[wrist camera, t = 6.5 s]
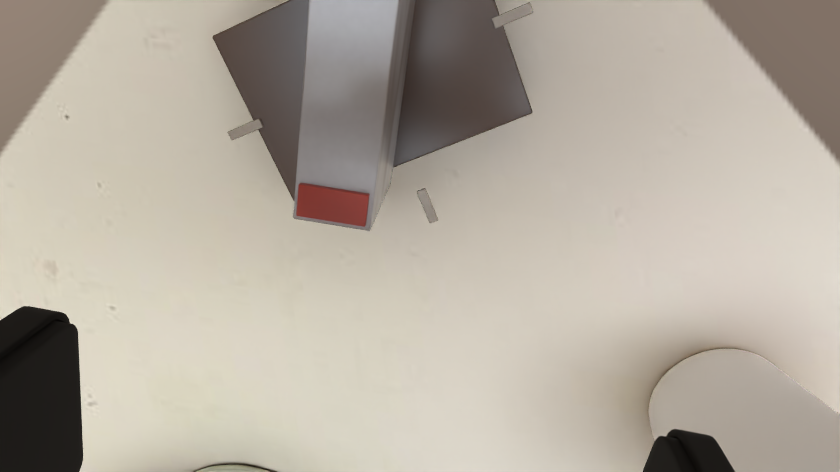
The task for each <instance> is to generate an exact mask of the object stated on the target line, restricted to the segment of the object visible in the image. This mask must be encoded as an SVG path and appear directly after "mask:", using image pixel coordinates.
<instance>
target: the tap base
mask: <svg viewBox="0 0 840 472" xmlns="http://www.w3.org/2000/svg"><path fill="white" fill-rule="evenodd" d="M308 9H309V0H289V1H286V2H284V3H282V4H280V5H278V6H276V7H274V8H272V9H269V10H267V11H265V12H263V13H261V14H259V15H257V16H254V17H252V18H250V19H248V20H246V21H244V22H242V23H239V24H237V25H235V26H233V27H231V28H229V29H227V30H225V31H222V32H220V33H218V34H216V35H214V36H213V39H214V41H215V43H216V45H217V47H218V49H219V51H220V53H221V55H222V57H223V59H224V61H225V63H226V65H227V67H228V69H229V72H230V74H231V76H232V78H233V80H234V82H235V84H236V86H237V88H238V90H239V92H240V94H241V96H242V98H243V100H244V102H245V104H246V106H247V108H248V110H249V112H250V114H251V116H252V118H253V120H254V121H252V122H249V123H247V124H245V125H242V126H240V127H238V128H235V129H233V130H231V131H228V134H229V136H230V138H231V140H234V139H237V138H239V137H241V136H244V135H246V134H248V133H251V132H253V131H255V130H259V132H260V134H261V136H262V138H263V140H264V142H265V144H266V146H267V148H268V150H269V152H270V154H271V156H272V158H273V160H274V162H275V164H276V166H277V168H278V170H279V172H280V174H281V176H282V178H283V180H284V182H285V184H286V186H287V188H288V190H289V192H290V194H291V196H292V198H293V200H295V186H296V173H297V159H298V145H299V132H300V118H301V104H302V91H303V77H304V63H305V50H306V36H307V22H308ZM531 13H533V10H532V7H531V4H530V2H529V3H527V4H525V5H522V6H520V7H518V8H515V9H513V10H511V11H508V12H506V13H504V14H501V15H499V12H498V9H497V6H496V3H495V0H415V7H414V15H413V22H412V30H411V37H410V44H409V52H408V59H407V67H406V74H405V82H404V89H403V97H402V104H401V112H400V119H399V126H398V134H397V141H396V149H395V156H394V164H393V167H396V166H398V165H401V164H403V163H406V162H409V161H411V160H414V159H416V158H419V157H421V156H424V155H426V154H429V153H432V152H434V151H437V150H439V149H442V148H444V147H447V146H450V145H452V144H455V143H457V142H460V141H462V140H465V139H467V138H470V137H473V136H475V135H478V134H480V133H483V132H485V131H488V130H491V129H493V128H496V127H498V126H501V125H503V124H506V123H508V122H511V121H514V120H516V119H519V118H521V117H524V116H526V115H529V114H531V113H532V109H531V106H530V103H529V100H528V97H527V94H526V91H525V88H524V85H523V83H522V80H521V77H520V74H519V71H518V68H517V65H516V62H515V59H514V56H513V53H512V50H511V47H510V44H509V41H508V39H507V36H506V33H505V30H504V27H503V25H505V24H507V23H510V22H512V21H515V20H517V19H519V18H522V17H524V16H526V15H529V14H531ZM417 194H418V197H419V199H420V201H421V204H422V206H423V208H424V211H425V213H426V215H427V218H428V220H429V223H432V222H435V221H438V217H437V215H436V213H435V210H434V208H433V205H432V203H431V201H430V198H429V196H428V193H427V191H426V189H425V188H424V189H421V190H418V191H417Z"/></svg>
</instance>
